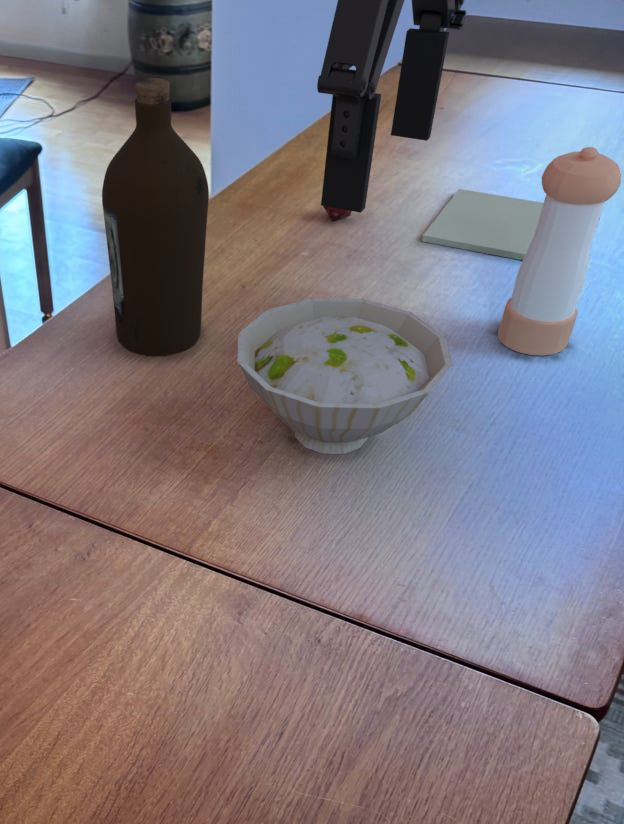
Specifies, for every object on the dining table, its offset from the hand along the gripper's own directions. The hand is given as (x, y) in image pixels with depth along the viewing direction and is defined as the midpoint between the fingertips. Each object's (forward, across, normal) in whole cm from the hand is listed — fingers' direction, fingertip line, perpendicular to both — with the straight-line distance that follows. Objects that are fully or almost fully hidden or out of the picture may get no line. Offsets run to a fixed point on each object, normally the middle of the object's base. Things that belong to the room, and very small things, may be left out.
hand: (378, 170), depth 62 cm
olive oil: (+27, -17, -27) cm, 42 cm away
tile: (+27, -60, 0) cm, 66 cm away
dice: (+27, -54, -20) cm, 64 cm away
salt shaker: (+27, -34, +10) cm, 45 cm away
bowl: (+27, -8, -3) cm, 29 cm away
